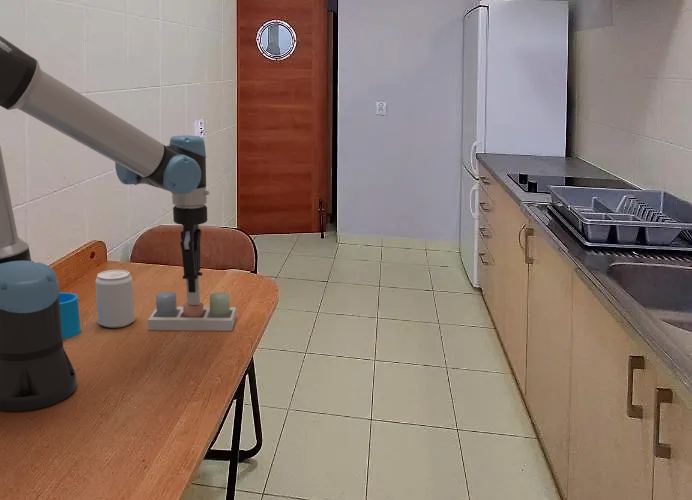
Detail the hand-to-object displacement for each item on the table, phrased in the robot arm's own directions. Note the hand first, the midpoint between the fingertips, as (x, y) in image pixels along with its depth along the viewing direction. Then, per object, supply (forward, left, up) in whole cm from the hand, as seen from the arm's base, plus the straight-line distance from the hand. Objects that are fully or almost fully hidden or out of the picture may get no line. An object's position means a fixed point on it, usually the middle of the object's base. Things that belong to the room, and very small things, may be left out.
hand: (193, 303), depth 154 cm
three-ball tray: (0, 0, -5) cm, 5 cm away
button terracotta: (0, 0, -4) cm, 4 cm away
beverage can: (-9, +16, -5) cm, 19 cm away
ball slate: (-3, +5, -2) cm, 7 cm away
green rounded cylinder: (+3, -5, -2) cm, 6 cm away
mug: (-18, +23, -5) cm, 29 cm away
